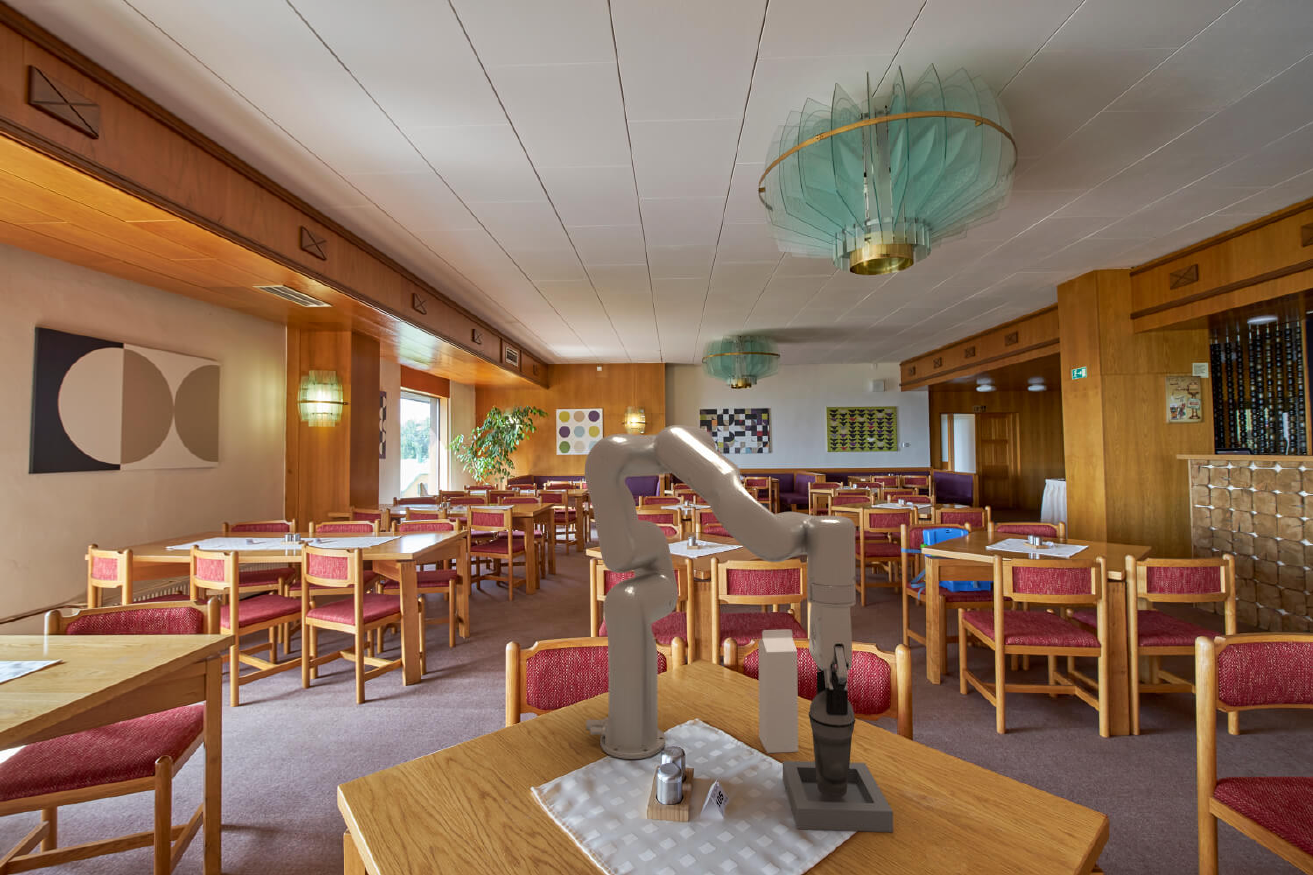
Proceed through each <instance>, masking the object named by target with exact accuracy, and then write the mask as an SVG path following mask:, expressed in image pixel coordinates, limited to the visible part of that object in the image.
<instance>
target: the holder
mask: <svg viewBox="0 0 1313 875" xmlns="http://www.w3.org/2000/svg"><path fill="white" fill-rule="evenodd" d="M782 781H783V784H784V788H785V792H786V794H787V798H788V802H789V804H790V807H791V811H792V814H793V818H794V821H795V826H796V828H797V830H811V831H812V830H817V831H841V832H842V831H843V832H846V831H847V832H848V831H849V832H850V831H851V832H877V833H878V832H879V833H880V832H881V833H894V811H893V809H892V808H891V806H890V804H889V802H888V801H887V799H886V797H885V795H884V794H883V792H882V789H880V787H879V785H878V783H877V781H876V780H875V778H874V776H873V774H872V773H871V771H870V769H869V767H868V766H867V764H866V763H865V762H850V764H849V776H848V784H847V792H846V794H845V795H844V796H842V797H830V796H826V795H824V794H822V793H821V792H820V791H819V790H818V787H817V779H816V769H815V761H807V760H806V761H802V760H801V761H799V760H798V761H797V760H796V761H795V760H782Z"/></svg>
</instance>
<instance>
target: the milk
mask: <svg viewBox="0 0 1313 875" xmlns="http://www.w3.org/2000/svg"><path fill="white" fill-rule="evenodd" d="M761 637H762V638H761V639H760V640H759V641H758V736H759V737H758V738H759V741H760V743H761V744H762V746H763V748H764V749H765V751H766V753H767V754H775V753H779V754H780V753H781V754H782V753H797V752H799V728H798V727H799V722H798V721H799V716H798V715H799V710H798V708H799V706H798V703H799V702H798V701H799V700H798V699H799V698H798V693H799V692H798V689H799V688H798V650H797V647H796V644H795V642H794V638H793V630H792V629H768V630H767V629H763V630H762V632H761Z"/></svg>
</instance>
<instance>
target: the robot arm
mask: <svg viewBox="0 0 1313 875" xmlns="http://www.w3.org/2000/svg"><path fill="white" fill-rule="evenodd" d="M664 474H672V475H673V476H675V477H676V478H677V479H678V480H680V481H682V483H684V484H685V485H686V486H687V487H688V488H690V489H691V490H692V491H693V492H695V494H696V495H698V496H699V497H700V498H701V499H703V500H704V501H705V502H706V504H708V505H709V508H710V510H711V511H712V514H713V515H714V516H715V518H716V519H717V522H718V523H719V524H720V525H721V527H722V528H723V529H724V530H725V531H726V532H727V533H728V534H729V535H730V536H731V537H732V538H733V539H735V541H737V542H738V543H740V545H742V546H743V547H744V548H745V549H746V550H747V551H749V552H750V553H752V554H753V555H754V556H756V557H757V558H758V559H761V560H763V561H765V562H768V563H781V562H784V561H786V560H788V559H791V558H793V557H797V556H801V555H806V560H807V561H806V563H807V564H806V569H807V570H806V572H807V574H806V576H807V577H806V580H807V582H806V583H807V585H806V586H807V588H806V589H807V590H806V591H807V593H806V594H807V598H806V600H807V602H808V603H810V612H809V634H808V635H809V636H808V637H809V638H808V639H809V640H808V650H809V651H808V652H809V654H810V657H811V658H812V659H813V662H814V663H815V664H816V669H817V671H816V695H817V694H818V693H820V692H822V691H824V690H826V712H827V714H828V715H847V714H848V700H849V699H848V698H849V697H848V693H849V691H848V689H849V688H848V678H849V677H848V676H849V673H848V672H849V671H850V670H851V669H852V664H853V640H852V635H853V634H852V618H851V607H853V606H855V605H856V604H857V603H856V602H857V601H856V595H857V594H856V526H855V522H854V521H853V520H852V519H851V518H848V516H841V515H811V514H807V513H803V512H797V511H784V512H780V513H773V512H772V511H771V510H769V509H768V508H767V507H766V506H764V505H763V504H762V503H761V502H760V501H758V500H757V499H756V498H755V497H753V496H752V495H751V494H750V493H749V491H748V490H746V488H745V486H744V485H743V482H742V480H741V470H740V468H739V467H738V465H737V464H735V463H734V462H733V461H731V460H730V459H729V458H728V457H726V455H724V454H722V453H721V452H719V450H717V449H716V442H715V440H714V438H713V436H712V435H711V434H710V433H709V432H708V431H707V430H705V429H704V428H701V427H700V426H694V425H682V424H675V425H670V426H666V427H665V428H662V429H661V430H660V431H659V432H658V433H657V434H650V435H649V434H648V435H647V434H646V435H644V434H631V433H629V434H628V433H617V434H616V433H615V434H610V435H607V436H605V437H603V438H601V439H599V440H598V441H597V442H596V443H594V444H593V446H592V448H591V449H590V450H589V452H588V453H587V457H586V460H585V464H584V480H585V484H586V489H587V492H588V494H589V495H588V496H589V499H590V502H591V505H592V506H591V507H592V511H593V519H594V523H595V528H596V533H597V534H596V536H597V539H598V544H599V551H600V555H601V558H602V562H603V564H604V566H605V567H606V568H607V569H608V570H609V571H610V572H612V573H616V574H623V573H628V572H633V574H634V575H633V577H630V578H628V579H625V580H622V581H619V582H618V583H616V584H615V585H613V586H612V587H611V588H610V589H609V591H608V592H607V593H606V595H605V597H604V601H603V615H604V616H603V617H604V621H605V627H606V633H607V647H608V648H607V649H608V650H607V652H608V653H607V654H608V655H607V657H608V658H607V660H608V661H607V663H608V715H607V717H606V718H605V717H603V718H602V719H595V718H593V719H592V718H591V719H589V718H588V719H586V723H585V730H586V731H589V734H590V735H591V736H592V735H593V736H597V735H598V736H599V735H601V736H600V748H601V749H602V751H603V752H605V753H606V754H608V755H609V756H612V757H615V758H619V759H625V760H639V759H645V758H649V757H653V756H655V755H656V754H658V753H660V752H661V751H662V750H663V749H664V748H665V746H666V736H665V734H664V732H663V730H661V729H660V728H659V727H658V647H657V642H656V639H655V635H654V633H653V632H654V631H653V628H652V624H654V623H655V622H657V621H659V620H661V619H664V618H665V617H667V616H669V615H670V614H671V613H672V612H673V611H674V609H676V606H677V604H678V601H679V600H678V598H679V593H678V592H679V590H678V585H677V579H676V574H675V573H676V572H675V569H674V568H675V567H674V564H673V560H672V554H671V550H670V545H669V542H668V539H667V536H666V535H665V532H664V531H663V529H661V527H660V526H658V525H657V523H655V522H653V521H650V520H639V516H638V513H637V512H638V511H637V506H636V501H635V499H634V496H633V494H632V492H631V490H630V488H629V486H628V485H627V483H626V479H627V478H629V477H650V476H657V475H659V476H660V475H664ZM825 669H827V679H828V688H826V685H825V676H824V670H825ZM663 747H664V748H663ZM662 748H663V749H662ZM661 749H662V750H661Z"/></svg>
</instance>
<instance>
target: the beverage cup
mask: <svg viewBox="0 0 1313 875" xmlns="http://www.w3.org/2000/svg"><path fill="white" fill-rule="evenodd" d="M824 676H825V685H826V688H828V679H827V669H825V670H824ZM808 718H809V722H810V728H811V732H812V742H813V754H814V762H815V769H816V779H817V787H818V790H819V791H820V792H821V793H822V794H824V795H826V796H830V797H842V796H844V795H845V794H846V792H847V784H848V776H849V764H850V763H851V750H852V740H853V738H852V736H853V733H854V730H855V723H856V718H855V712H854V709H853V705H852V703H851V701H849V699H848V714H847V715H828V714H827V712H826V690H824V691H822V692H820V693H818V694H817V693H816V694H815V696H814V697H813V699H812V701H811V702H810V705H809V711H808Z"/></svg>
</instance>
